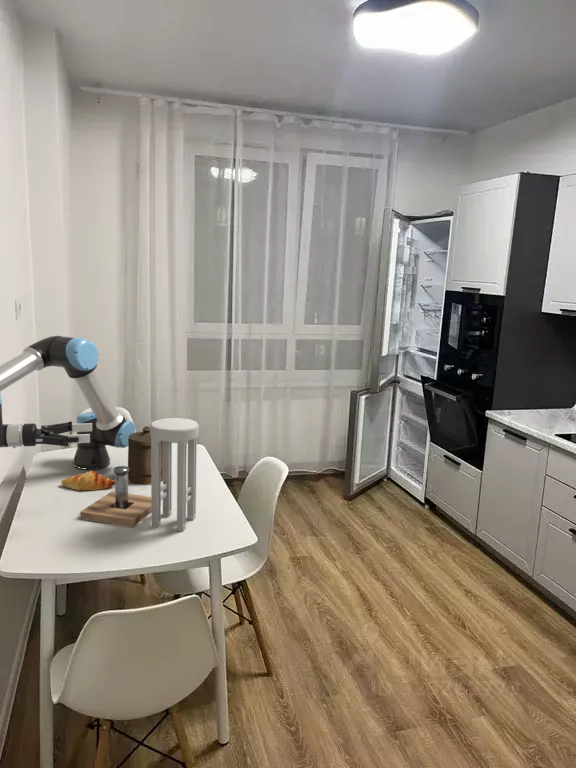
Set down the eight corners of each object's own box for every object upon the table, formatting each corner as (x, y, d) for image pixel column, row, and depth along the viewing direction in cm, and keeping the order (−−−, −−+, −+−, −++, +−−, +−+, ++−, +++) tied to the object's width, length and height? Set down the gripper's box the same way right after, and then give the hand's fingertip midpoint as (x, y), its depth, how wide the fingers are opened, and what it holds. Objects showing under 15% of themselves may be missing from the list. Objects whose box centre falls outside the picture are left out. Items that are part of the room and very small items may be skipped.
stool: (203, 516, 202) (204, 420, 195) (186, 534, 187) (187, 431, 180) (162, 510, 205) (162, 415, 198) (142, 528, 190) (142, 426, 183)
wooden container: (168, 473, 243) (168, 423, 239) (159, 485, 229) (160, 432, 225) (134, 471, 244) (133, 421, 240) (123, 483, 229) (122, 430, 225)
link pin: (119, 507, 206) (118, 465, 203) (132, 509, 205) (131, 467, 202) (111, 513, 201) (110, 469, 198) (124, 515, 200) (124, 471, 197)
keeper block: (112, 497, 215) (111, 491, 214) (160, 504, 210) (160, 498, 209) (80, 518, 196) (80, 511, 195) (133, 527, 191) (133, 520, 190)
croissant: (59, 497, 222) (54, 483, 217) (66, 478, 229) (62, 464, 224) (114, 497, 223) (111, 484, 218) (119, 478, 230) (116, 464, 225)
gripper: (29, 435, 201) (93, 433, 207) (16, 458, 178) (89, 454, 184) (28, 414, 200) (92, 412, 206) (15, 434, 176) (88, 432, 182)
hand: (91, 432), depth 195 cm, fingers open, 13 cm apart
